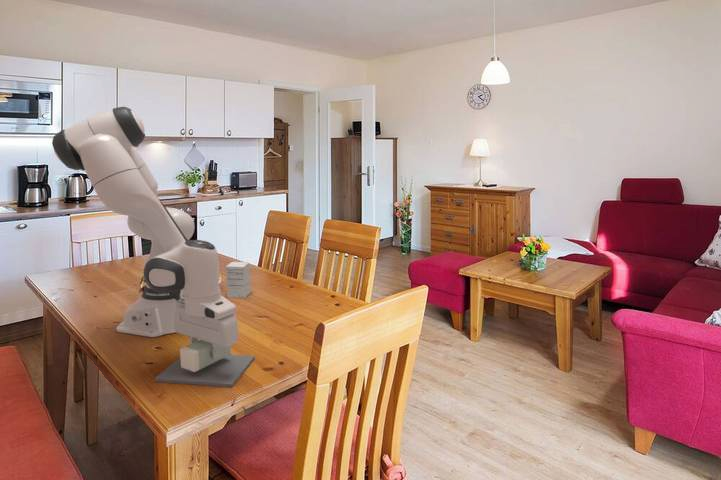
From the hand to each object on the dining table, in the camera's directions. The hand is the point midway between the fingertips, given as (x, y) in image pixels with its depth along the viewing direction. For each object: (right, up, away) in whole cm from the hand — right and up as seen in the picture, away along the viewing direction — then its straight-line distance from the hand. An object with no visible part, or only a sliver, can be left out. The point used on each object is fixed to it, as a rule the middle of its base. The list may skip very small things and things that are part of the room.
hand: (206, 354), depth 122 cm
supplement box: (-8, +8, +63) cm, 64 cm away
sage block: (+3, +2, +5) cm, 6 cm away
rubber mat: (0, -4, +1) cm, 4 cm away
